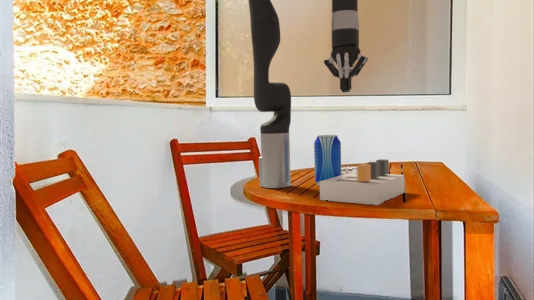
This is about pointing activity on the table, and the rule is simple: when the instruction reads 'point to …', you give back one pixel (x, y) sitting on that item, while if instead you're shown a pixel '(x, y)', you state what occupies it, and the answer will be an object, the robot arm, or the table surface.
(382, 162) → the block
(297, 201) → the table surface
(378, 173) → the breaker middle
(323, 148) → the beer can
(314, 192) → the table surface
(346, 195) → the breaker panel
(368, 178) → the block
